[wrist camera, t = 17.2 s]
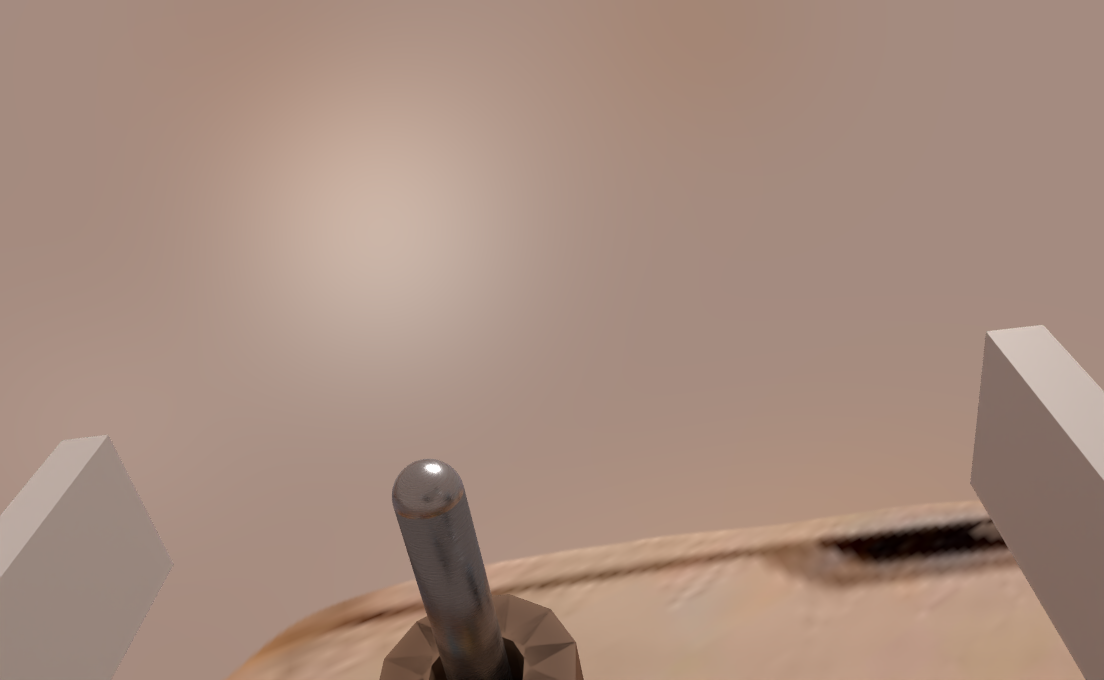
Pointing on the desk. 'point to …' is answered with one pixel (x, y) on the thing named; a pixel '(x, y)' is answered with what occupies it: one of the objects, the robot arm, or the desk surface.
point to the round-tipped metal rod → (450, 571)
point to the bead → (529, 638)
